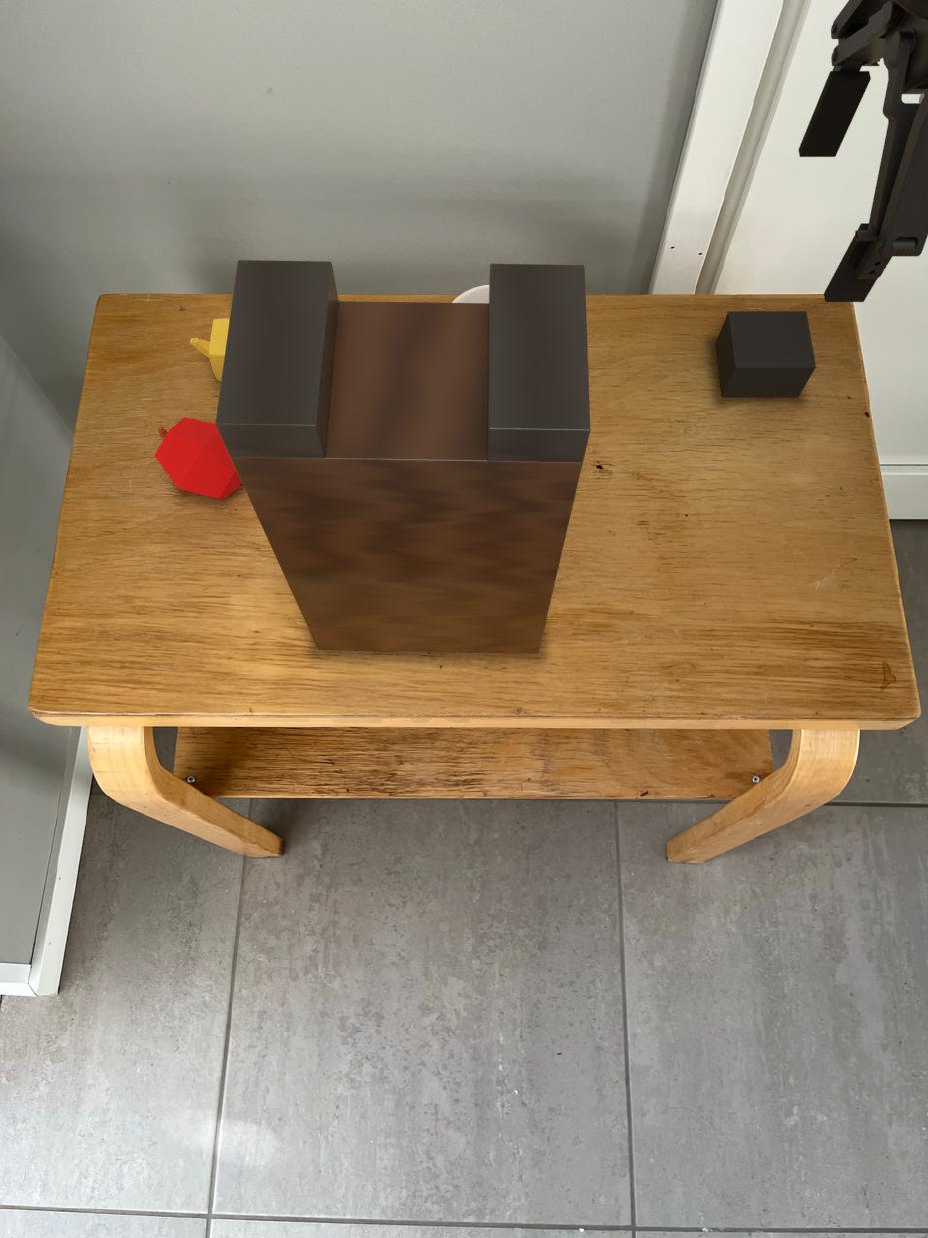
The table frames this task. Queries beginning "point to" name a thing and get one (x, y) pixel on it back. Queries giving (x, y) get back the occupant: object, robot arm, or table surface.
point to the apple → (197, 459)
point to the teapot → (215, 345)
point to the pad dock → (410, 451)
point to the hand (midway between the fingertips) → (829, 223)
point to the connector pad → (764, 354)
